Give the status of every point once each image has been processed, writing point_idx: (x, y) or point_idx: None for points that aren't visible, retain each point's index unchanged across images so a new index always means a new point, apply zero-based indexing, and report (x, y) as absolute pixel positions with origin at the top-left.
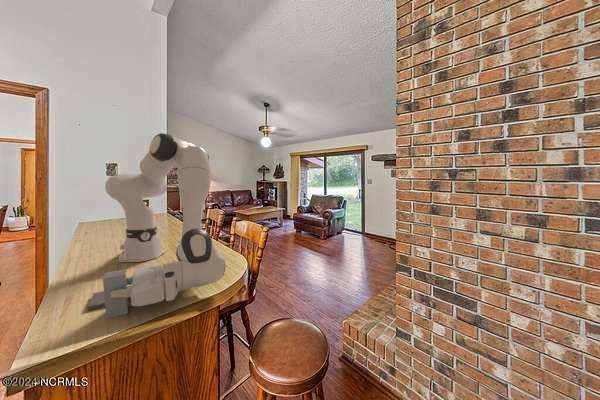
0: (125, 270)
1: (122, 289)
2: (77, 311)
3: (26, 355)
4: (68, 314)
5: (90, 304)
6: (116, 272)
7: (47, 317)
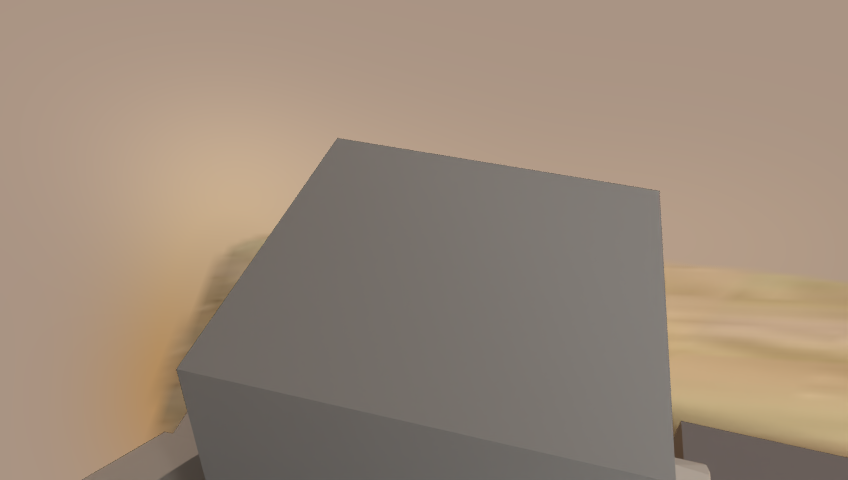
0: (570, 463)
1: (122, 477)
2: (783, 421)
3: None
4: (754, 375)
5: (724, 442)
6: (534, 295)
7: (768, 295)
